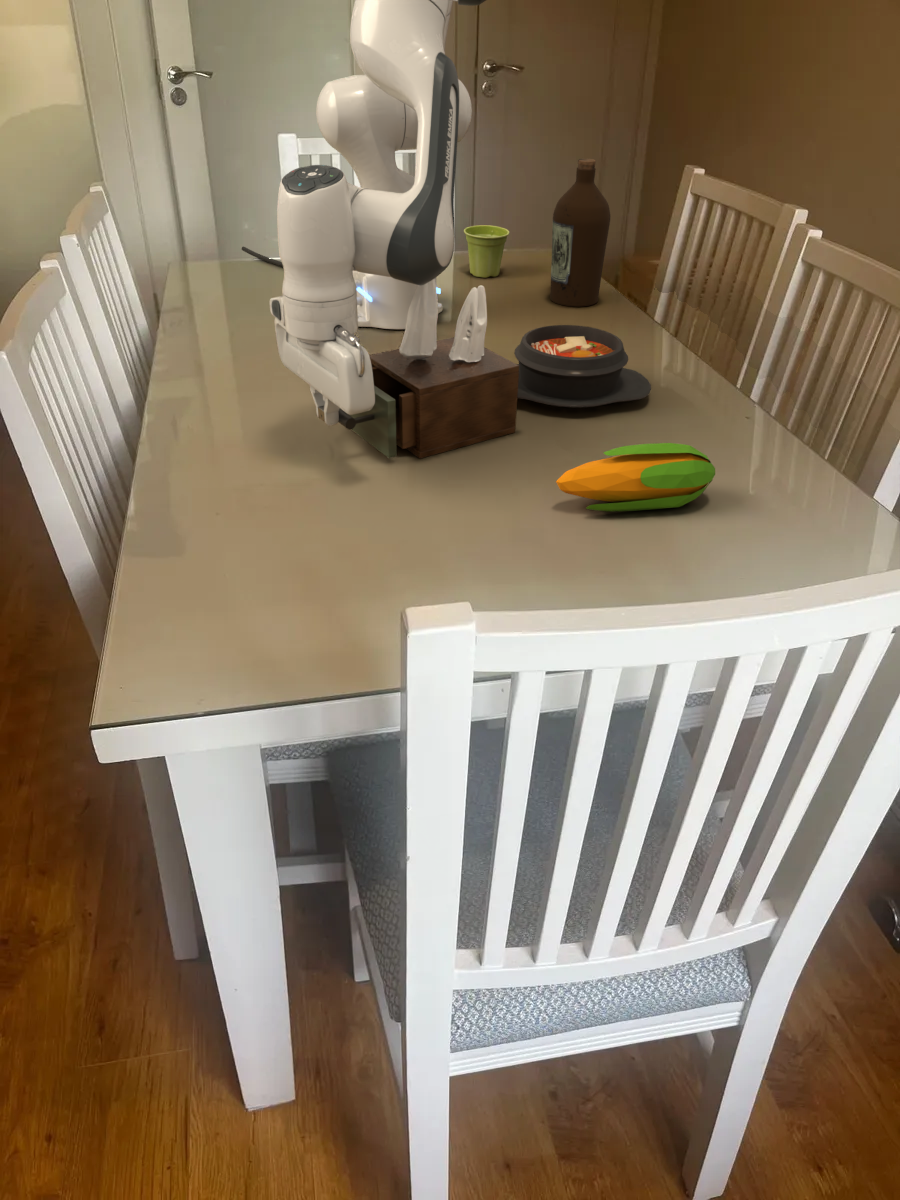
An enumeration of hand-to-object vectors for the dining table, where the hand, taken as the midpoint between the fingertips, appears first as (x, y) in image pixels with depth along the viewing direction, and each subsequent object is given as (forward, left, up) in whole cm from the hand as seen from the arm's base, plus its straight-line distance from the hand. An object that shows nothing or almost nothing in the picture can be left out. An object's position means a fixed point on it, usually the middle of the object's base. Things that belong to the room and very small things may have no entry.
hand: (327, 420), depth 119 cm
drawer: (0, +10, -4) cm, 11 cm away
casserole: (0, +41, -5) cm, 41 cm away
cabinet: (0, +18, -5) cm, 18 cm away
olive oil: (-36, +72, -5) cm, 80 cm away
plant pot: (-59, +67, -5) cm, 89 cm away
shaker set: (0, +17, +5) cm, 18 cm away
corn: (+31, +26, -5) cm, 41 cm away
